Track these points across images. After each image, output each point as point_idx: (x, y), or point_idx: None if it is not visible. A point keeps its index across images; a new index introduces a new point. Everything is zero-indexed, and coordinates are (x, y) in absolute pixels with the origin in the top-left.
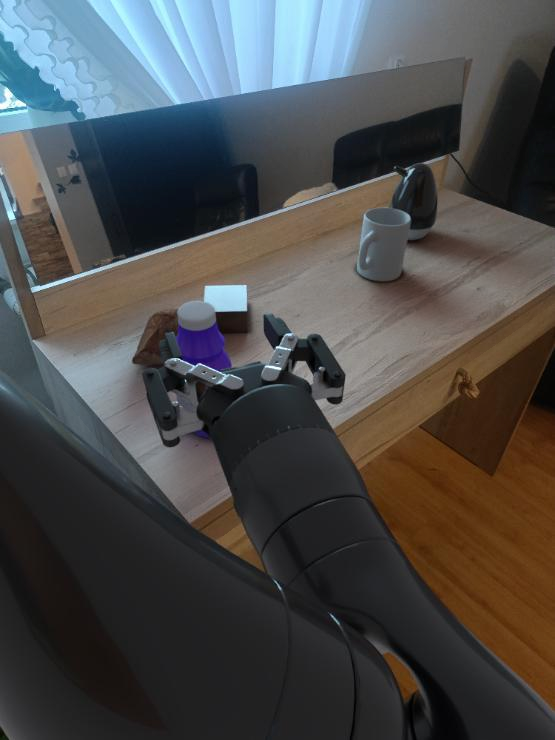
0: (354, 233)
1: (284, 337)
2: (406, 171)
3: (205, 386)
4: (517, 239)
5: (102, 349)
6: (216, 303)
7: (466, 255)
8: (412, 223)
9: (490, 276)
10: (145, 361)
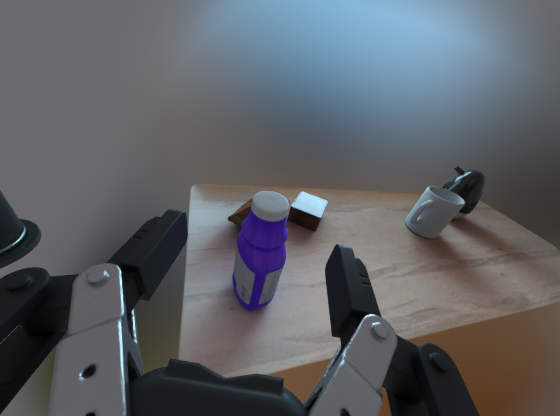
0: (407, 198)
1: (364, 322)
2: (464, 172)
3: (133, 367)
4: (533, 247)
5: (221, 203)
6: (302, 204)
7: (490, 243)
8: None
9: (512, 268)
10: (236, 222)
